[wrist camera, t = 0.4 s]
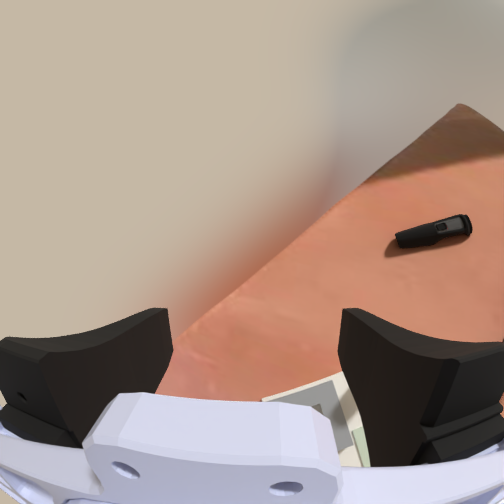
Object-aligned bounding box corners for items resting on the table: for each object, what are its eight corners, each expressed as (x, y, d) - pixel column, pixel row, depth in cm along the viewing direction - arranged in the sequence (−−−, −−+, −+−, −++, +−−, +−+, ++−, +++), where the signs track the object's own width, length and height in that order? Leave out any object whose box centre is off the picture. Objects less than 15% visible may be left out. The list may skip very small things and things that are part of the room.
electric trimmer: (387, 234, 40) (391, 224, 37) (463, 217, 38) (469, 207, 35) (395, 256, 39) (400, 247, 36) (471, 236, 36) (479, 227, 34)
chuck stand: (416, 448, 26) (423, 452, 23) (294, 493, 27) (293, 501, 24) (385, 352, 33) (391, 350, 30) (262, 398, 34) (258, 399, 31)
